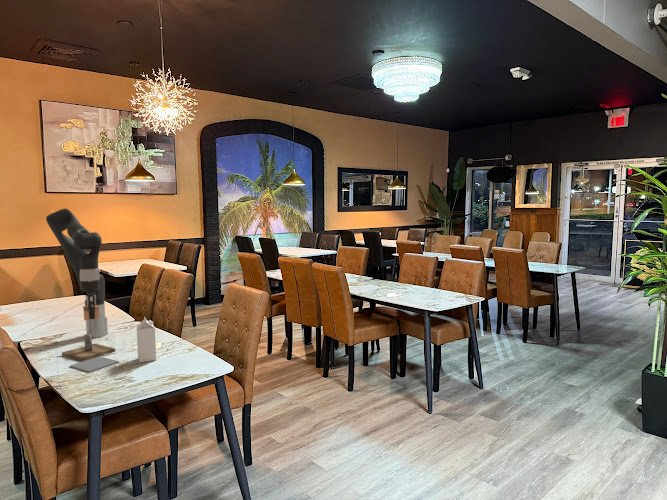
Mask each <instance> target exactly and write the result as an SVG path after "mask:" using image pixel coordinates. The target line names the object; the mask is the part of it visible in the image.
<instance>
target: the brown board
mask: <svg viewBox="0 0 667 500" xmlns="http://www.w3.org/2000/svg"><path fill="white" fill-rule="evenodd" d="M83 339H84V346H80V347H77V348H74V349H70V350H66V351H63V352H61V356H62V357H64V358H65V357H66V358H69V359H73V360H76V361H80V362H83V361H86V360H89V359H93V358H96V357H99V356H101V357H103V356H104V355H109V354H111V353H114V352H116V348H114V347H110V346H107V345H103V344H99V343H93V340H92V334H87V333H86V334H84V335H83Z"/></svg>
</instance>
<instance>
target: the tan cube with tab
mask: <svg viewBox="0 0 667 500" xmlns="http://www.w3.org/2000/svg"><path fill="white" fill-rule="evenodd" d="M90 307H93V306H92V305H90ZM82 308H83V321H86V320H93V319H89V310H88V306H85V305H84V306H83V307H82ZM95 319H99V309H98V305H95Z"/></svg>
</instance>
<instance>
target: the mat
mask: <svg viewBox="0 0 667 500" xmlns="http://www.w3.org/2000/svg"><path fill="white" fill-rule="evenodd" d="M119 363H120V361H119V360H116V359H111V358H108V357H104V356H98V357H95V358H92V359H89V360H85V361H80V362H76V363H74V364H70V365H69V367H70V368H72V369H75V370H79V371H82V372H85V373H93V372H95V371H99V370H101V369H104V368H108V367H111V366H113V365H117V364H119Z"/></svg>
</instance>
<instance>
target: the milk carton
mask: <svg viewBox="0 0 667 500" xmlns="http://www.w3.org/2000/svg"><path fill="white" fill-rule="evenodd" d="M143 317H144V318H143V320H142V321H141V322H139V324H137V325H136V340H137V341H136V342H137V359H138V363H147V362H151V361H152V362H153V361H157V350H156V349H157V347H156V344H157V343H156V327H155V326H154V321H152V320H151V319H149V320H147V318H146V317H145V316H143Z"/></svg>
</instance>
